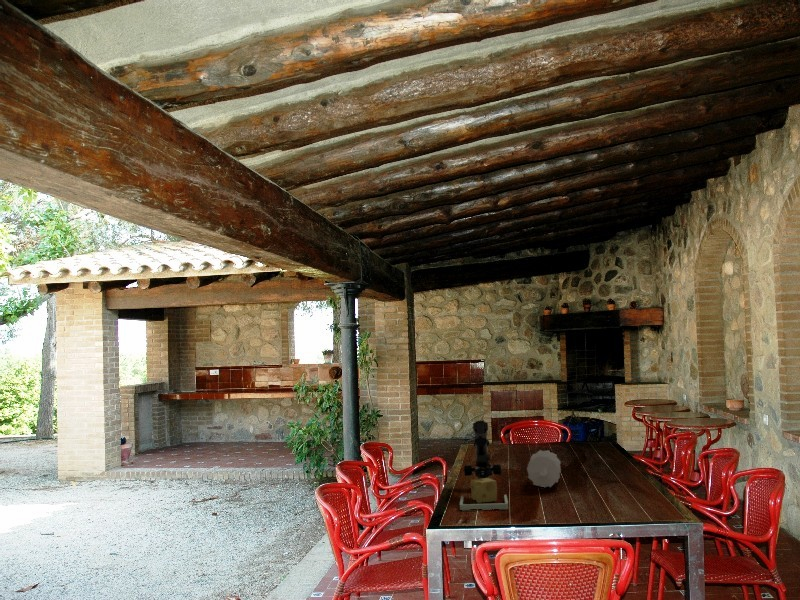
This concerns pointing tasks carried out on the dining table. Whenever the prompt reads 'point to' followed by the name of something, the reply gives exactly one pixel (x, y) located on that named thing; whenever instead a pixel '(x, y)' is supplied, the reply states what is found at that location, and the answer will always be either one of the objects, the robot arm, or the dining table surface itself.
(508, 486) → the dining table surface
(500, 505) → the grey u-shaped frame
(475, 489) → the cheese
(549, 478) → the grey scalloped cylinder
